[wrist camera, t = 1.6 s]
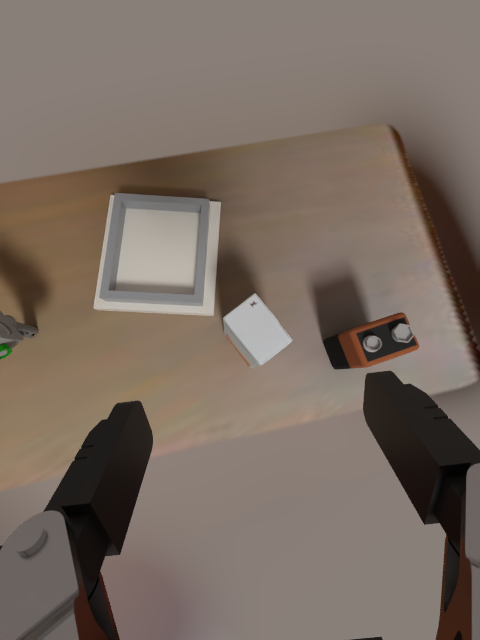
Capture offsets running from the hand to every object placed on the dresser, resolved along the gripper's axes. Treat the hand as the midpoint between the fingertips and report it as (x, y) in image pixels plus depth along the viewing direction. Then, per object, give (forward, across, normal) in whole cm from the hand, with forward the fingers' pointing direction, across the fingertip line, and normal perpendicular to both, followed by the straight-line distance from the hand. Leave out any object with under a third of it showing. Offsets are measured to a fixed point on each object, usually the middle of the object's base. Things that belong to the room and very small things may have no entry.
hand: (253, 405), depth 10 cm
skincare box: (+26, 0, +12) cm, 29 cm away
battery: (+25, -14, +15) cm, 33 cm away
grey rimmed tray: (+33, +11, 0) cm, 35 cm away
